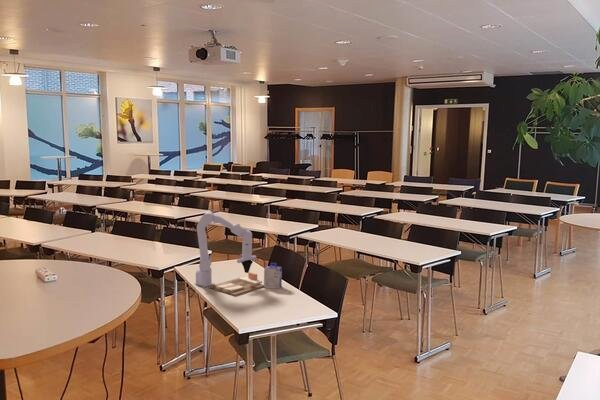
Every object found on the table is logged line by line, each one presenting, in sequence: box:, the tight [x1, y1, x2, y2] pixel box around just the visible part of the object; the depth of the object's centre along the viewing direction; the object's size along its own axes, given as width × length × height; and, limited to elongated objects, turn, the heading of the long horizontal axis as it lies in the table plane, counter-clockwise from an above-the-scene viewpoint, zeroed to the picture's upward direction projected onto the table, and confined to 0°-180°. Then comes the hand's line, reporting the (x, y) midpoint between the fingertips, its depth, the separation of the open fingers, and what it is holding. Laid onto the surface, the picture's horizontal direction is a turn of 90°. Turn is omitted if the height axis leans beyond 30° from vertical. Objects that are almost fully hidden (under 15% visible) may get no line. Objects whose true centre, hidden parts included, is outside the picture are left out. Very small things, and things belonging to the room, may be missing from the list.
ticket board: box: [208, 277, 264, 297], centre depth 294 cm, size 22×24×2 cm
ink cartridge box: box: [263, 262, 283, 290], centre depth 296 cm, size 10×6×14 cm, turn 78°
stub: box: [238, 271, 263, 285], centre depth 303 cm, size 14×6×5 cm, turn 51°
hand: (246, 272), depth 300 cm, fingers closed
